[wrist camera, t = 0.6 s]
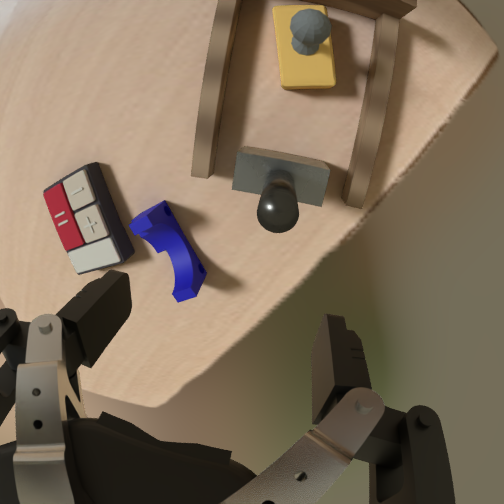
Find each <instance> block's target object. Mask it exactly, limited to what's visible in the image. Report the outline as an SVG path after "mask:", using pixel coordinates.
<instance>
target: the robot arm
mask: <svg viewBox="0 0 504 504" xmlns="http://www.w3.org/2000/svg"><path fill="white" fill-rule="evenodd" d="M131 309H132V300H131V291H130V281H129V276H128V274H127V273H124V272H120V271H116V270H109V271H108V272H107V273H106V274H105V275H104V276H103V277H102V278H101V279H100V278H98V279H96V280H94V281H92V282H90V283H88V284H87V285H86V286H85V287H84V288H83V289H82V290H81V291H80V292H78V293H77V294H76V297H75V296H74V297H73V298H72V299H71V300H70V301H69V302H68V303H67V304H66V305H65V306H64V307H63V308H62V309H61V310H60V311H59V312H58V313H57V314H56V315H53V314H44V315H40V316H38V317H36V318H35V319H34V320H33V321H32V322H24V321H19V320H18V318H17V315H16V312H15V311H14V310H12V309H9V308H5V309H1V310H0V354H1V352H2V353H3V355H4V356H5V358H6V361H5V363H4V364H3V365H2V367H1V368H0V426H1V424H2V423H3V421H4V419H5V418H6V416H7V414H8V413H9V411H10V410H11V408H12V407H13V405H14V404H16V405H15V412H16V413H15V417H16V441H13V442H10V443H7V444H4V445H1V446H0V504H315V503H316V502H317V501H318V500H319V499H320V498H321V496H322V495H323V494H324V493H325V492H326V491H327V490H328V489H329V488H330V487H331V485H332V484H333V483H334V482H335V481H336V480H337V478H338V477H339V476H340V475H341V474H342V473H343V471H344V470H345V469H346V468H347V466H348V465H349V464H350V462H351V461H352V459H353V458H355V459H358V460H362V461H365V462H368V463H369V482H370V483H369V486H370V487H369V497H370V498H369V504H455V496H454V488H453V481H452V475H451V469H450V463H449V458H448V453H447V449H446V443H445V439H444V434H443V430H442V426H441V422H440V419H439V417H438V415H437V414H436V412H435V411H433V410H432V409H431V408H429V407H426V406H422V405H418V406H414V407H412V408H411V409H410V410H409V411H408V412H407V413H405V412H401V411H398V410H395V409H391V408H389V407H386V406H385V405H384V402H383V400H382V398H381V397H380V395H378V394H377V393H376V392H375V391H373V390H372V387H371V382H370V378H369V373H368V368H367V364H366V360H365V355H364V352H363V346H362V342H361V339H360V338H359V337H358V335H357V334H356V333H355V332H354V331H352V330H347V329H346V324H345V319H344V317H343V316H337V315H331V314H324V316H323V318H322V321H321V324H320V327H319V329H318V332H317V335H316V338H315V341H314V344H313V348H312V354H311V364H312V365H311V366H312V424H316V425H317V426H316V427H315V428H314V429H313V430H309V431H308V432H307V433H305V434H304V435H303V436H302V437H301V438H300V439H299V440H298V441H297V442H296V443H295V444H294V445H293V446H292V447H290V448H289V449H288V450H287V451H286V452H285V453H284V454H283V455H282V456H280V457H279V458H278V459H277V460H276V461H275V462H273V464H271V465H270V466H269V467H268V468H266V469H265V470H264V471H263V472H261V473H260V474H259V475H258V476H257V475H256V474H255V473H253V472H252V471H251V470H249V469H248V468H247V467H245V466H244V465H242V464H240V463H238V462H236V461H234V460H232V459H230V457H231V453H232V451H228V450H223V449H219V448H214V447H209V446H205V445H201V444H197V443H196V444H195V443H176V442H164V441H160V440H157V439H156V438H154V437H152V436H151V435H149V434H148V433H146V432H144V431H143V430H141V429H140V428H138V427H136V426H135V425H134V424H132V423H130V422H127V421H125V420H122V419H120V418H117V417H115V416H113V415H110V414H108V413H106V412H102V414H101V415H100V417H99V419H97V418H88V417H87V415H86V412H85V408H84V402H83V397H82V396H83V395H82V389H81V381H80V373H79V370H78V368H79V366H80V365H81V364H82V365H84V366H87V367H89V368H92V366H93V365H94V364H95V362H96V361H97V359H98V358H99V357H100V355H101V354H102V352H103V351H104V350H105V348H106V347H107V346H108V344H109V343H110V341H111V340H112V339H113V337H114V336H115V335H116V333H117V332H118V331H119V329H120V328H121V327H122V325H123V324H124V323H125V321H126V320H127V319H128V317H129V315H130V313H131ZM15 402H16V403H15Z"/></svg>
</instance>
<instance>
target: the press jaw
mask: <svg viewBox="0 0 504 504" xmlns="http://www.w3.org/2000/svg"><path fill="white" fill-rule="evenodd" d="M329 174H330V169H329V168H328V166H327V165H326V164H325V163H324V161H320V160H316V159H311V158H307V157H302V156H297V155H292V154H287V153H282V152H277V151H271V150H266V149H260V148H254V147H248V146H244V147H243V148H241V149H240V150H239V151H238V152H237V157H236V164H235V171H234V178H233V185H232V190H237V191H243V192H248V193H254V194H260V195H261V197H260V201H259V205H258V209H257V218H258V221H259V223H260V224H261V225H262V227H264V228H265V229H266V230H268V231H270V232H273V233H283V232H286V231H288V230H290V229H292V228H293V227H294V226H295V224H296V223H297V221H298V217H299V209H298V202H301V203H306V204H311V205H315V206H320V207H322V203H323V199H324V195H325V191H326V187H327V183H328V178H329Z"/></svg>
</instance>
